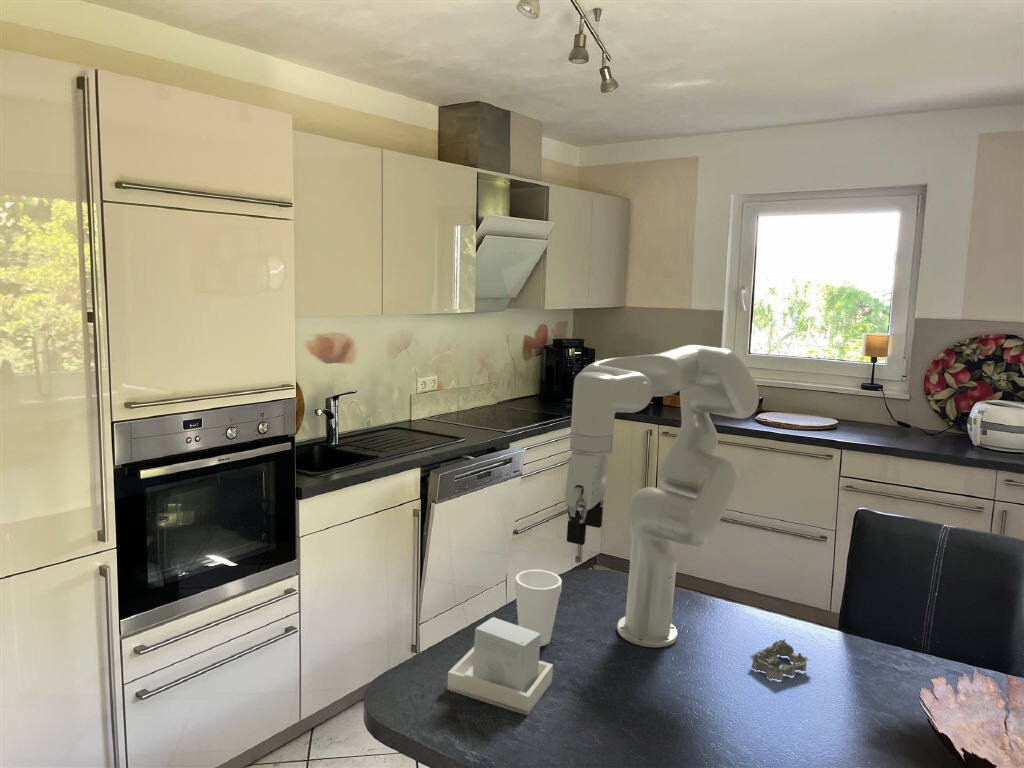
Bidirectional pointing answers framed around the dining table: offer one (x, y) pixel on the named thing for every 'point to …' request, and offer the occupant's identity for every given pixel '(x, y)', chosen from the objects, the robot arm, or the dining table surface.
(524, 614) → the foam cup
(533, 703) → the trough
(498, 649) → the skincare box
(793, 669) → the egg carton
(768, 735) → the dining table surface
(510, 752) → the dining table surface
